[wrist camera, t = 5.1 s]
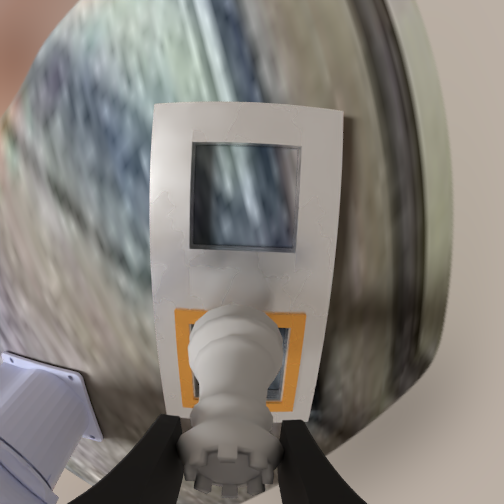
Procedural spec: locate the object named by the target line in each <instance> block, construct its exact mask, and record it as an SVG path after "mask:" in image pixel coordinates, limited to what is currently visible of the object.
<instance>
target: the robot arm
mask: <svg viewBox="0 0 504 504" xmlns="http://www.w3.org/2000/svg"><path fill="white" fill-rule="evenodd" d="M1 355H2V359H3V363H2V364H1V365H0V504H56V503H57V500H58V498H59V497H58V496H57V495H55V494H54V493H53V492H52V491H53V489H54V487H55V485H56V483H57V481H58V479H59V477H60V476H61V474H62V472H63V470H64V468H65V466H66V464H67V463H68V461H69V459H70V457H71V455H72V453H73V452H74V450H75V448H76V446H77V444H78V443H79V441H80V439H81V437H85V438H88V439H91V440H95V441H99V442H101V441H102V440H103V436H102V433H101V430H100V428H99V425H98V422H97V420H96V417H95V414H94V411H93V408H92V405H91V402H90V399H89V396H88V393H87V390H86V387H85V383H84V380H83V377H82V375H81V374H80V373H78V372H75V371H71V370H67V369H63V368H59V367H55V366H51V365H48V364H44V363H40V362H37V361H34V360H30V359H27V358H24V357H21V356H18V355H14V354H11V353H8V352H6V351H4V352H3V353H2V354H1ZM181 434H182V429H181V422H180V416H174V415H165V414H161V415H159V416H158V418H157V419H156V420H155V422H154V423H153V424H152V426H151V427H150V428H149V430H148V431H147V432H146V433H145V435H144V436H143V437H142V438H141V439H140V441H139V442H138V443H137V444H136V445H135V446H134V447H133V449H132V450H131V451H130V452H129V453H128V454H127V455H126V456H125V457H124V458H123V460H122V461H120V462H119V463H118V464H117V465H116V466H115V467H114V468H113V469H112V470H111V471H110V472H109V473H108V474H107V475H106V476H105V477H103V478H102V479H101V480H100V481H99V482H98V483H96V484H95V485H94V486H92V487H91V488H90V489H88V490H87V491H86V492H84V493H83V494H81V495H80V496H78V497H77V498H75V499H74V500H72V501H71V502H69V503H68V504H176V502H177V498H178V494H179V491H180V487H181V483H182V479H183V472H184V464H183V463H182V462H181V460H180V459H179V458H178V453H177V449H176V444H177V442H178V440H179V438H180V436H181ZM280 443H281V445H282V446H283V448H284V453H283V459H282V462H281V463H280V464H279V465H278V482H279V487H280V493H281V498H282V503H283V504H367V503H366V502H365V501H364V500H363V499H361V498H360V497H359V496H358V495H357V494H356V493H355V492H354V491H353V489H351V488H350V486H349V485H348V484H347V483H346V482H345V481H344V480H343V479H342V477H341V476H340V475H339V474H338V472H337V471H336V470H335V469H334V467H333V466H332V465H331V464H330V462H329V461H328V459H327V458H326V457H325V455H324V454H323V452H322V451H321V449H320V448H319V446H318V445H317V443H316V442H315V440H314V439H313V437H312V435H311V434H310V432H309V430H308V428H307V426H306V424H305V422H304V421H303V420H301V419H299V420H282V427H281V434H280Z"/></svg>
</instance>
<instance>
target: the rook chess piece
mask: <svg viewBox="0 0 504 504" xmlns="http://www.w3.org/2000/svg"><path fill="white" fill-rule="evenodd" d="M189 339H190V342H189V345H188V356H189V365H190V368H191V369H192V371H193V373H194V375H195V377H196V379H197V380H198V382H199V402H198V403H197V404H195V405H194V407H193V409H192V411H191V413H190V420H191V426H192V427H193V428H192V429H190V430H188V431H187V432H185V433H183V434H181V436H180V438H179V440H178V442H177V444H176V449H177V453H178V458H179V459H180V460H181V462H182V463H183V464H184V465H185V467H184V472H183V473H184V476H185V480H186V481H195V483H194V489H196V490H198V491H200V492H203V493H205V494H207V493H209V492H211V486H212V485H216V486H221V487H222V498H238V487H244V486H247V493H249V494H250V495H252V496H254V495H257V494H259V493H262V492H264V491H265V485H264V484H273V478H274V473H273V471H274V470H275V469H276V467H277V466H278V465H279V464H280V463H281V462H282V459H283V453H284V448H283V446H282V445H281V443H280V441H279V440H278V438H276V437H275V436H274V435H272V434H271V433H269V432H270V430H271V429H272V427H273V416H272V414H271V412H270V410H269V408H268V407H267V406H266V397H267V389H268V387H269V386H270V384H271V383H272V382H273V380H274V379H275V377H276V375H277V374H278V372H279V371H280V369H281V366H282V359H283V347H282V344H283V338H282V336H281V333H280V331H279V328H278V326H277V324H276V323H275V322H274V321H273V320H272V319H271V318H270V317H269V316H267V315H266V314H265V313H264V312H262V311H260V310H257V309H255V308H252V307H250V306H247V305H224V306H221V307H218V308H215V309H212V310H209V311H207V312H206V313H205V314H204V315H203V316H202V317H201V318H200V319H198V320H197V321H196V322H195V324H194V327H193V329H192V332H191V334H190V336H189Z"/></svg>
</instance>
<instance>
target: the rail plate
mask: <svg viewBox="0 0 504 504" xmlns="http://www.w3.org/2000/svg"><path fill="white" fill-rule="evenodd" d="M196 145H243V146H266V147H282V148H295V149H298V161H297V182H296V200H295V217H294V232H293V247H292V248H275V247H250V246H225V245H198V244H193V228H194V181H195V155H196ZM342 152H343V111H339V110H332V109H324V108H316V107H307V106H297V105H286V104H272V103H254V102H178V103H160V104H154V115H153V129H152V145H151V167H150V255H151V277H152V294H153V307H154V319H155V330H156V340H157V349H158V358H159V366H160V373H161V381H162V388H163V394H164V401H165V407H166V413H167V415H174V416H180V418H189V419H190V413H191V411H192V409H193V407H194V405H195V404H197V403H198V402H199V387H198V381H197V379H196V377H195V375H194V373H193V371H192V369H191V368H190V365H189V356H188V345H189V342H190V339H189V336H190V334H191V332H192V329H193V327H194V324H195V322H196V321H197V320H198V319H200V318H201V317H202V316H203V315H204V314H205V313H206V312H207V311H209V310H212V309H215V308H218V307H221V306H224V305H247V306H250V307H252V308H255V309H257V310H260V311H262V312H264V313H265V314H266V315H267V316H269V317H270V318H271V319H272V320H273V321H274V322H275V323H276V324H277V326H278V328H286V329H285V338H284V348H283V359H282V366H281V375H280V384H279V390H267V397H266V406H267V407H268V408H269V410H270V412H271V414H272V416H273V423H278V422H282V420H299V419H301V420H303V421H304V422H308V419H309V415H310V410H311V405H312V401H313V396H314V391H315V386H316V381H317V376H318V370H319V365H320V359H321V354H322V348H323V342H324V336H325V330H326V323H327V316H328V309H329V302H330V295H331V287H332V279H333V271H334V262H335V253H336V243H337V232H338V220H339V207H340V193H341V175H342Z"/></svg>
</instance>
